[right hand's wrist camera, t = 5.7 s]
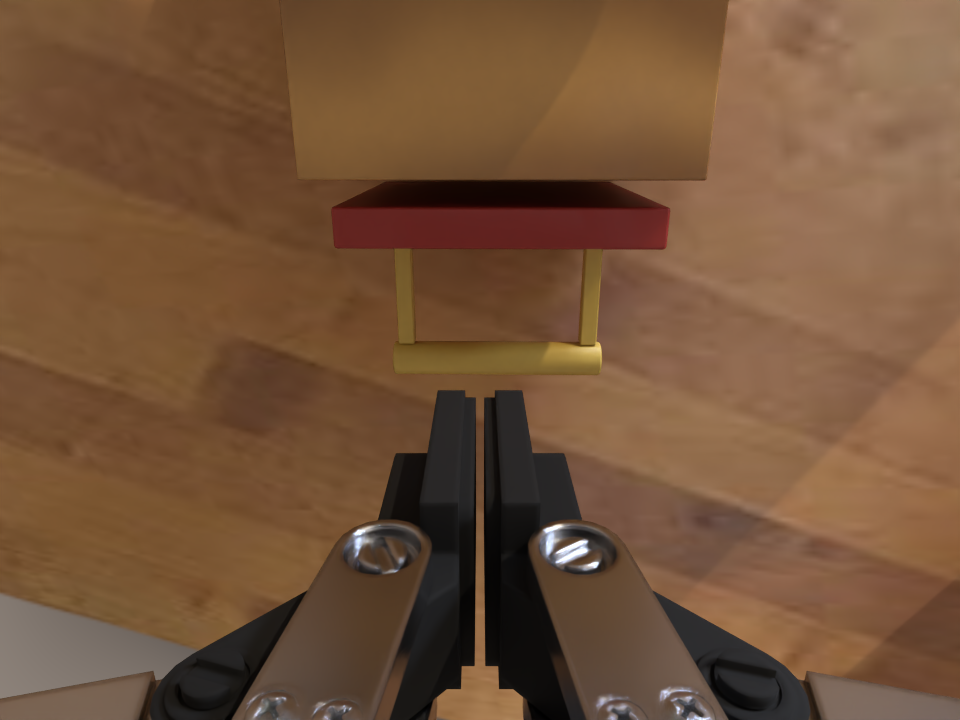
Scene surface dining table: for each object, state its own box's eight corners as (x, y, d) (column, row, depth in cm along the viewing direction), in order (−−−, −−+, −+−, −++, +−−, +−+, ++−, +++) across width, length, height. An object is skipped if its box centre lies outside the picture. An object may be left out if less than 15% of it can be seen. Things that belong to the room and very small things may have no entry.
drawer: (600, 332, 28) (648, 422, 20) (392, 330, 29) (347, 419, 20) (648, -346, 20) (769, -713, 11) (356, -343, 20) (253, -702, 12)
